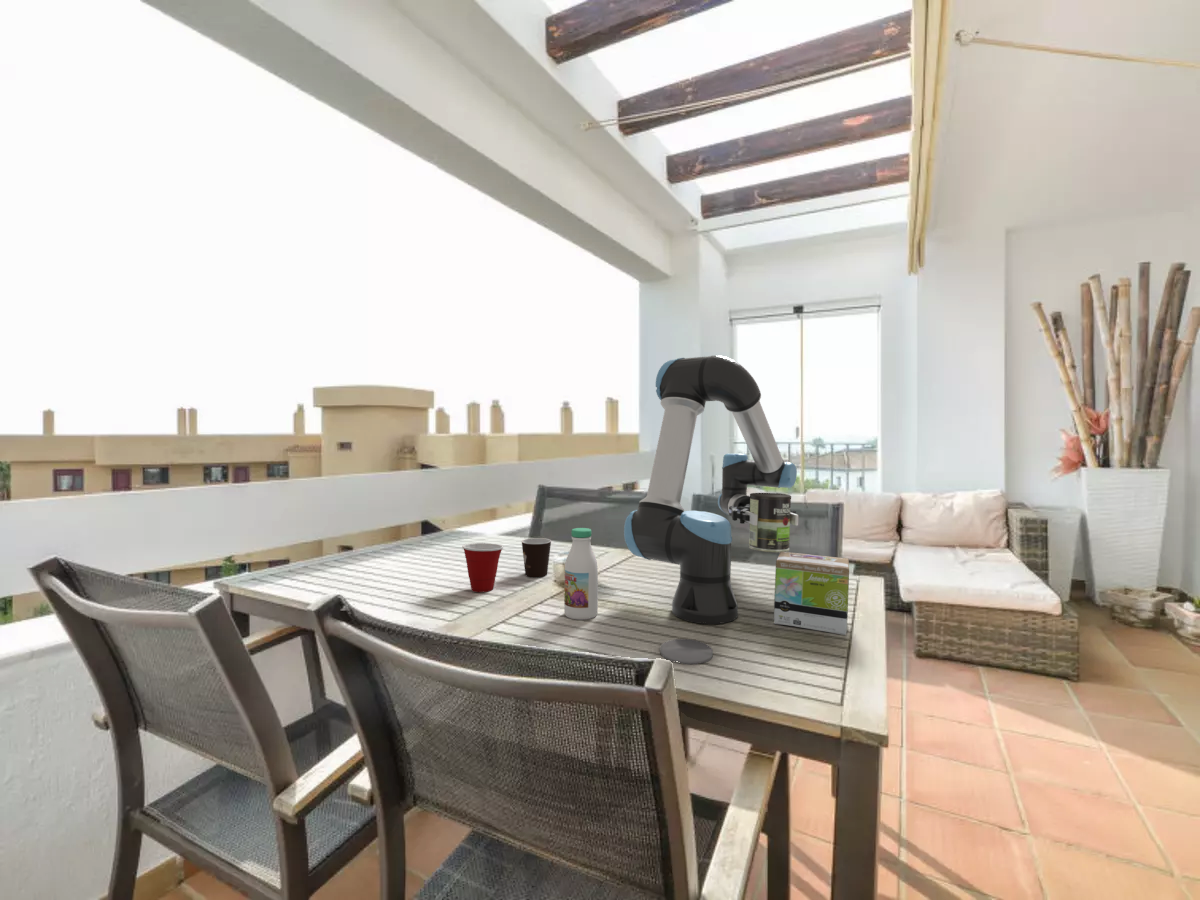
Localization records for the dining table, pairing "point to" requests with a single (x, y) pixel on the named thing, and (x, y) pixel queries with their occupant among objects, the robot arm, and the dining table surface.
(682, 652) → the slate coaster
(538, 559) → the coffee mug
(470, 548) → the plastic cup
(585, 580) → the milk bottle
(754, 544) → the coffee can
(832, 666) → the dining table surface
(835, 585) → the tea box
